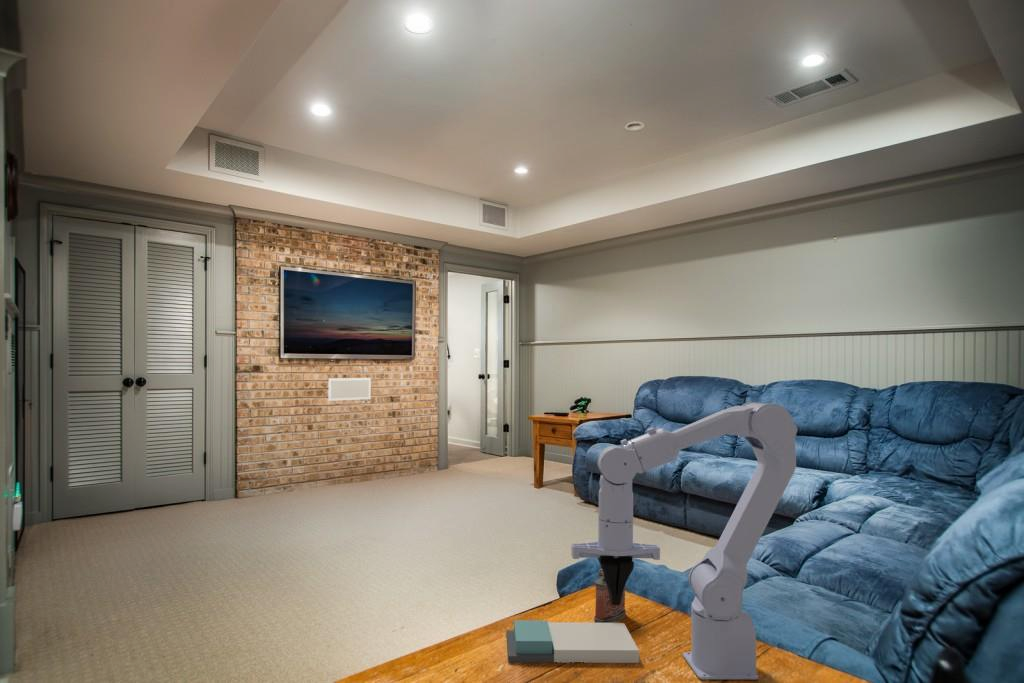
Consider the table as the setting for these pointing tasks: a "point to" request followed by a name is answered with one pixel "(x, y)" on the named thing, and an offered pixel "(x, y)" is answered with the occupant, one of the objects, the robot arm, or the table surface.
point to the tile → (532, 637)
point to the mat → (524, 657)
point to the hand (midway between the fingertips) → (614, 602)
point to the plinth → (592, 643)
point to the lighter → (607, 603)
